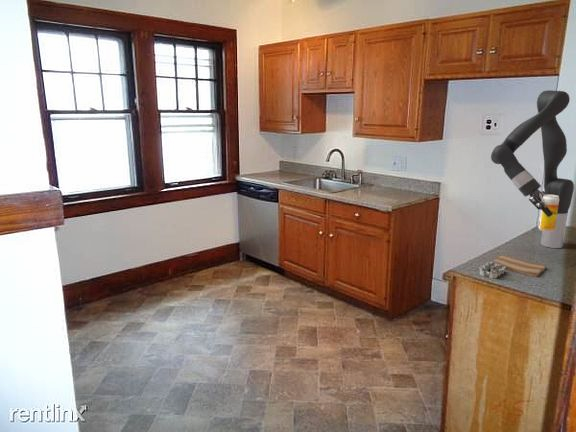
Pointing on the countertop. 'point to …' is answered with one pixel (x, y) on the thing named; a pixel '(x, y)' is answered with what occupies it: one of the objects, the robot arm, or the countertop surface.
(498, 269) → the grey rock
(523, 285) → the countertop surface
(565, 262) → the countertop surface
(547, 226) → the beer glass
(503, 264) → the walnut board
